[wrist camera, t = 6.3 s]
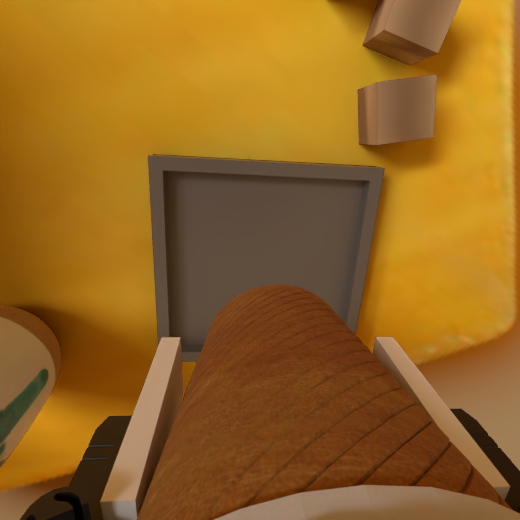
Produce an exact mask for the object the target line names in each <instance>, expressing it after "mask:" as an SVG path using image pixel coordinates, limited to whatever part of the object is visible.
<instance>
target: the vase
mask: <svg viewBox="0 0 520 520" xmlns="http://www.w3.org/2000/svg"><path fill="white" fill-rule="evenodd" d="M60 367H61V351H60V346H59V343H58V341H57V338H56V336H55V335H54V333H53V332H52V330H51V329H50V328H49V327H48V326H47V324H45V323H44V322H43V321H42V320H41V319H39V318H38V317H36V316H35V315H33V314H31V313H29V312H27V311H25V310H22V309H19V308H16V307H11V306H5V305H0V468H1V466H2V465H3V464H4V463H5V461H6V460H7V459H8V457H9V456H10V454H11V453H12V452H13V450H14V449H15V448H16V446H17V445H18V443H19V442H20V441H21V439H22V438H23V436H24V435H25V433H26V432H27V430H28V429H29V428H30V426H31V424H32V423H33V421H34V420H35V418H36V417H37V415H38V414H39V412H40V411H41V409H42V407H43V406H44V404H45V402H46V401H47V399H48V397H49V395H50V394H51V392H52V390H53V388H54V386H55V384H56V381H57V378H58V376H59V373H60Z"/></svg>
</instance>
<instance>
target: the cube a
mask: <svg viewBox="0 0 520 520" xmlns="http://www.w3.org/2000/svg"><path fill="white" fill-rule="evenodd" d="M436 78H437V74H435V75H428V76H420V77H412V78H405V79H397V80H389V81H382V82H377V83H374V84H371V85H369V86H366V87H364V88H361V89H358V127H359V144H369V145H382V144H389V143H397V142H404V141H411V140H419V139H426V138H433V137H434V118H435V98H436Z"/></svg>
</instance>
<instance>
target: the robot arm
mask: <svg viewBox="0 0 520 520" xmlns="http://www.w3.org/2000/svg"><path fill="white" fill-rule="evenodd" d="M373 355H374V356H376V357H377V359H378V360H379V362H380V364H382V365H383V366H385V367H386V368H387V370H388V371H389V373H390V374H391V376H392V377H394V379H395V380H396V381H397V382H398V383H399V384H400V385H401V386H402V389H403V390H405V391H406V392H407V393H408V394H409V395H410V396H411V397H412V398H413V399H414V400H415V401H416V403H415V405H419V406H420V407H421V408H422V410H423V411H424V412H425V413H426V414H427V415H428V416H429V417H430V418H431V422H434V423H435V424H436V425H437V426H438V427H439V428H440V429H441V430H442V431H443V432H444V434H445V435H446V436H447V437H448V438H449V441H451V442H452V443H453V444H454V445H455V446H456V447H457V448H458V449H459V450H460V452H461V453H462V454H463V455H464V456H465V457H466V458H467V459H468V460H469V461H470V462H471V464H472V465H473V466H474V467H475V468H476V469H477V470H478V471H479V473H480V474H481V475H482V476H483V477H484V478H485V479H486V480H487V481H488V482H489V483H490V484H491V485H492V486H493V488H494V489H495V490H496V492H497V493H498V494H499V495H500V496H501V497H502V498H503V500H504V501H505V502H506V503H507V504H508V505H509V506H510V507H511V508H512V510H513V511H515V512H517V513H520V471H519V470H518V469H517V467H516V466H515V465H514V464H513V463H512V462H511V460H510V459H509V458H508V457H507V456H506V455H505V453H504V452H503V451H502V450H501V449H500V448H498V446H497V444H496V443H495V442H494V440H493V439H492V438H491V437H489V436H488V433H487V432H486V431H485V430H484V429H483V427H482V426H481V425H480V424H479V423H478V421H477V420H475V419H474V418H473V417H471V416H470V415H469V414H467V413H466V412H465V411H463V410H462V409H449V408H448V406H447V405H446V404H445V403H444V401H443V400H442V399H441V398H440V396H439V395H438V394H437V393H436V391H435V390H434V389H433V388H432V386H431V385H430V384H429V382H428V381H427V380H426V378H425V377H424V376H423V375H422V373H421V372H420V371H419V370H418V368H417V367H416V366H415V364H414V363H413V362H412V361H411V359H410V358H409V357H408V356H407V354H406V353H405V352H404V350H403V349H402V348H401V347H400V345H399V344H398V343H397V342H396V340H395V339H394V338H393V337H376V338H375V344H374V349H373ZM182 394H183V380H182V358H181V337H162V338H161V340H160V343H159V346H158V348H157V351H156V354H155V356H154V359H153V362H152V364H151V367H150V370H149V372H148V375H147V378H146V380H145V383H144V386H143V388H142V391H141V394H140V396H139V399H138V402H137V404H136V407H135V410H134V412H133V415H132V416H109V417H108V418H107V419H106V420H105V421H104V422H103V423H102V424H101V425H100V426H99V427H98V428H97V429H96V430H95V433H94V435H93V437H92V439H91V441H90V443H89V447H88V448H87V449H86V451H85V453H84V455H83V459H82V461H81V462H80V464H79V466H78V468H77V470H76V472H75V474H74V476H73V478H72V480H71V482H70V485H69V487H63V488H59V489H54V490H52V491H50V492H49V493H47V494H45V495H43V496H41V497H40V498H39V499H38V500H37V501H35V502H34V503H33V504H32V505H31V506H29V508H28V509H27V511H26V512H25V513H24V515H23V516H22V517H21V519H20V520H137V517H138V515H139V512H140V510H141V508H142V505H143V502H144V499H145V496H146V494H147V491H148V488H149V486H150V484H151V481H152V478H153V476H154V473H155V470H156V467H157V464H158V462H159V460H160V458H161V455H162V452H163V449H164V446H165V444H166V441H167V439H168V436H169V434H170V431H171V428H172V425H173V423H174V421H175V418H176V416H177V413H178V411H179V408H180V404H181V399H182Z"/></svg>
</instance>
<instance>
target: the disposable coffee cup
mask: <svg viewBox="0 0 520 520" xmlns="http://www.w3.org/2000/svg"><path fill="white" fill-rule="evenodd" d="M415 403H416V401H415V400H414V399H413V398H412V397H411V396H410V395H409V394H408V393H407V392H406V391H405V390H403V389H402V386H401V385H400V384H399V383H398V382H397V381H396V380H395V379H394V377H392V376H391V374H390V373H389V371H388V370H387V368H386V367H385V366H383V365H382V364H380V362H379V360H378V359H377V357H376V356H374V355H373V354H371V352H370V350H369V349H368V348H367V347H366V346H365V345H364V344H363V343H362V342H361V340H360V339H359V338H358V337H357V336H355V334H354V333H353V331H352V330H351V329H349V328H348V326H347V325H346V323H345V322H343V321H342V319H341V318H340V317H339V316H338V315H337V314H336V313H335V312H334V310H333V309H332V308H331V307H330V305H328V304H327V303H326V302H325V301H324V300H323V299H322V298H321V297H319V296H317V295H315V294H313V293H311V292H310V291H308V290H306V289H302V288H299V287H296V286H290V285H282V284H280V285H266V286H262V287H257V288H253V289H251V290H248V291H246V292H244V293H242V294H239V295H238V296H237V297H235V298H234V299H233V300H231V301H230V302H228V303H227V304H226V305H225V306H224V307H223V308H222V309H221V310H220V311H219V312H218V314H217V315H216V317H215V318H214V320H213V321H212V323H211V326H210V328H209V331H208V334H207V337H206V340H205V342H204V345H203V348H202V350H201V353H200V355H199V358H198V360H197V363H196V366H195V369H194V371H193V374H192V376H191V378H190V381H189V383H188V386H187V389H186V392H185V394H184V397H183V400H182V403H181V405H180V408H179V411H178V413H177V416H176V418H175V421H174V423H173V425H172V428H171V431H170V434H169V436H168V439H167V441H166V444H165V446H164V449H163V452H162V455H161V458H160V460H159V462H158V464H157V467H156V470H155V473H154V476H153V478H152V481H151V484H150V486H149V488H148V491H147V494H146V496H145V499H144V502H143V505H142V508H141V510H140V512H139V515H138V517H137V520H520V513H517V512H515V511H513V510H512V508H511V507H510V506H509V505H508V504H507V503H506V502H505V501H504V500H503V498H502V497H501V496H500V495H499V494H498V493H497V492H496V490H495V489H494V488H493V486H492V485H491V484H490V483H489V482H488V481H487V480H486V479H485V478H484V477H483V476H482V475H481V474H480V473H479V471H478V470H477V469H476V468H475V467H474V466H473V465H472V464H471V462H470V461H469V460H468V459H467V458H466V457H465V456H464V455H463V454H462V453H461V452H460V450H459V449H458V448H457V447H456V446H455V445H454V444H453V443H452V442H451V441H449V438H448V437H447V436H446V435H445V434H444V432H443V431H442V430H441V429H440V428H439V427H438V426H437V425H436V424H435V423H434V422H431V418H430V417H429V416H428V415H427V414H426V413H425V412H424V411H423V410H422V408H421V407H420V406H419V405H415Z"/></svg>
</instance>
